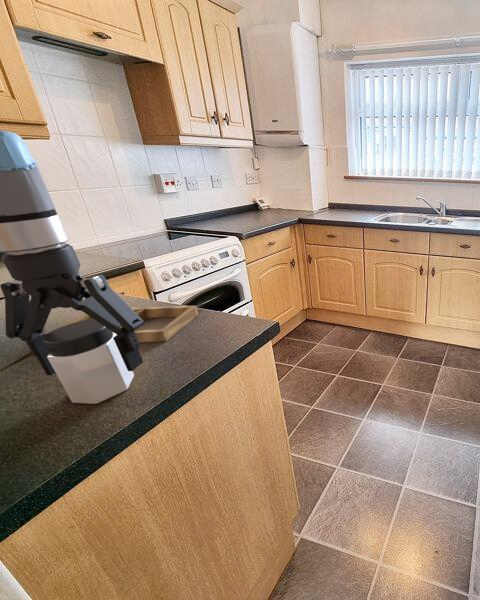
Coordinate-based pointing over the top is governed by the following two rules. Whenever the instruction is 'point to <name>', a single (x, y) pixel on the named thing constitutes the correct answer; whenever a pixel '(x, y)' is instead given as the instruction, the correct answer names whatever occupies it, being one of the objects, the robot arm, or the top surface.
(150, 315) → the organiser
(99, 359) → the jar
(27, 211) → the robot arm
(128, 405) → the top surface
